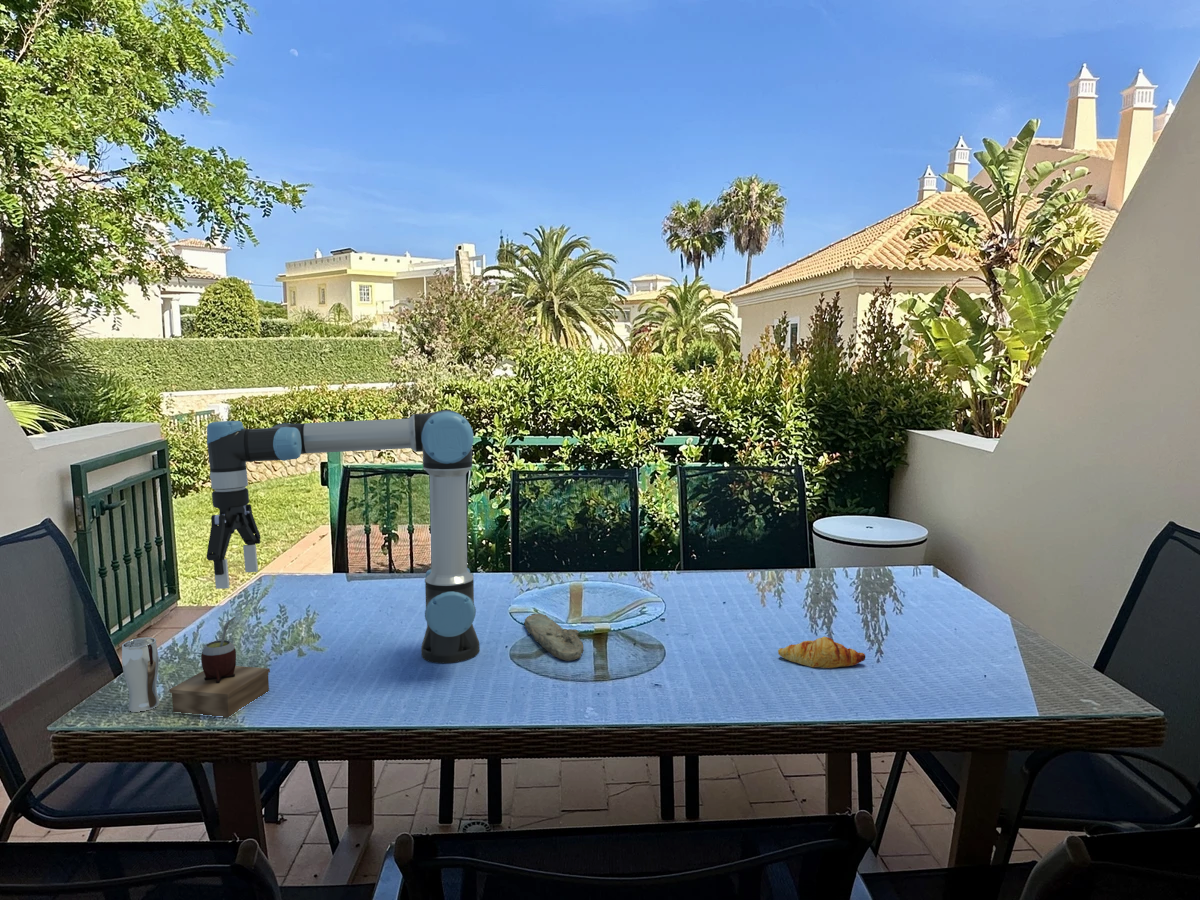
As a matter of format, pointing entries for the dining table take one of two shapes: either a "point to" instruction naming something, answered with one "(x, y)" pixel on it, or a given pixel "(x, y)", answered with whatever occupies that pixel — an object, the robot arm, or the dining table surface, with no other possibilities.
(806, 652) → the croissant
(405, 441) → the robot arm
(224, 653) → the mate gourd
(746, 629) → the dining table surface
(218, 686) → the walnut box
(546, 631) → the elongated rock
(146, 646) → the beer glass
